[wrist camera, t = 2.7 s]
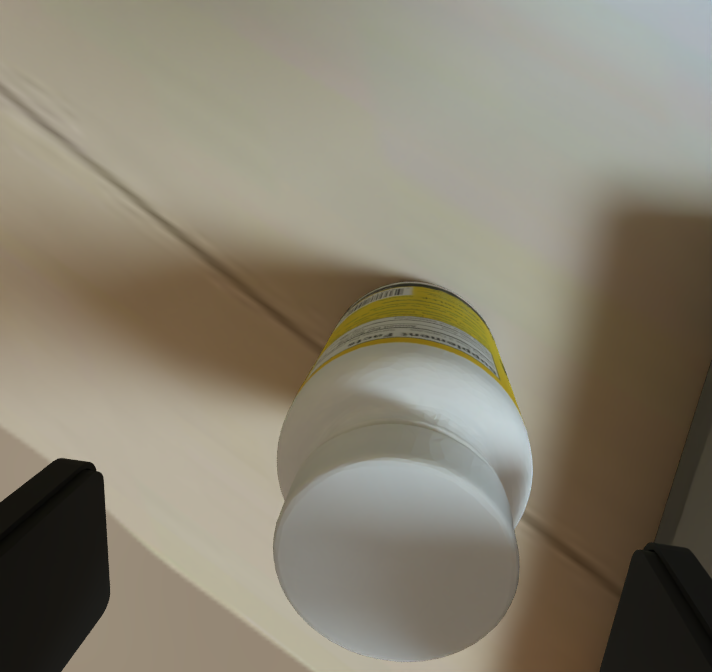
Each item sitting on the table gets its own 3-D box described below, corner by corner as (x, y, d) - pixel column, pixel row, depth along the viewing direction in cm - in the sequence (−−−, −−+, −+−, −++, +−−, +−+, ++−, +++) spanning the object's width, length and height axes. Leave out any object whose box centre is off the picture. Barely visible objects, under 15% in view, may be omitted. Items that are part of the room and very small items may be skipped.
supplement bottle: (456, 453, 19) (476, 741, 9) (311, 396, 19) (189, 624, 10) (526, 314, 17) (634, 502, 8) (365, 251, 17) (279, 359, 8)
